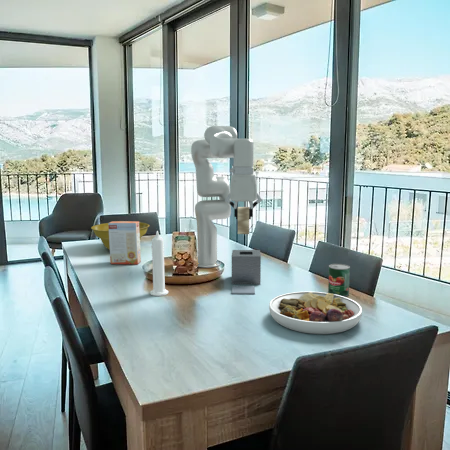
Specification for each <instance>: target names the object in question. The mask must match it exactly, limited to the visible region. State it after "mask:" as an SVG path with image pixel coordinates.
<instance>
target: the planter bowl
mask: <svg viewBox="0 0 450 450" xmlns="http://www.w3.org/2000/svg"><path fill="white" fill-rule="evenodd" d="M108 223H109V222H106V223H105V222H104V223H100V224H96V225H93V226H91V227H90V229H91V230H93V233H94V235H95V236H96V237H97V238H99V239H100V241H101V242H102V244H103V245H104V247H105V248H106V249H107V250H109V251H110V245H109V225H108ZM149 227H150V224H148V223H146V222H141V221H139V231H140V241H141V239H142V237H143V236H145V235H146V233H147V232H148V228H149Z"/></svg>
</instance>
